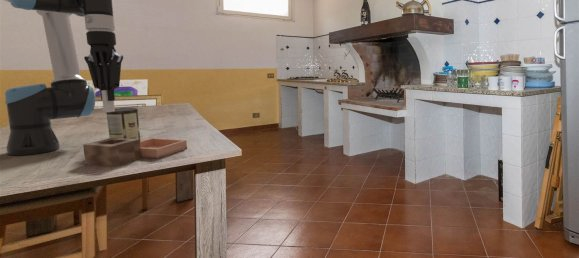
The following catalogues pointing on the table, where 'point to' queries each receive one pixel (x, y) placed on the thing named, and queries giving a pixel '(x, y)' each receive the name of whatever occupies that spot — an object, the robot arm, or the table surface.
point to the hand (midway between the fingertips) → (109, 111)
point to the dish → (161, 147)
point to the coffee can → (123, 123)
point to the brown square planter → (112, 151)
